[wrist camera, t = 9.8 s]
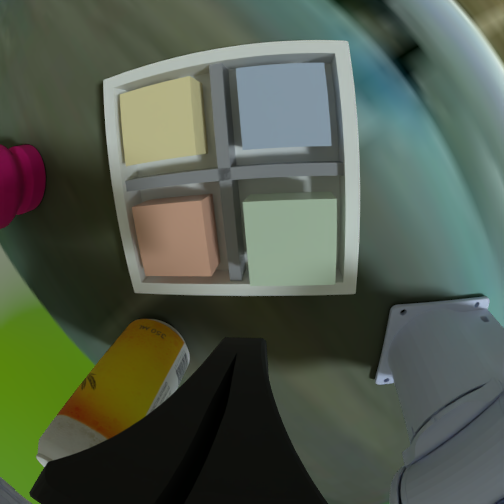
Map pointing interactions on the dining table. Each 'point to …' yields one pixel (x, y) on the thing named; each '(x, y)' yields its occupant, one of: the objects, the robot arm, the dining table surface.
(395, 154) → the dining table surface
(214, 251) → the terracotta key
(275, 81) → the slate-blue key
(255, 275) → the sage key
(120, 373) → the beer can
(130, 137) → the mustard key
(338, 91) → the keypad base
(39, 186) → the pepper mill
